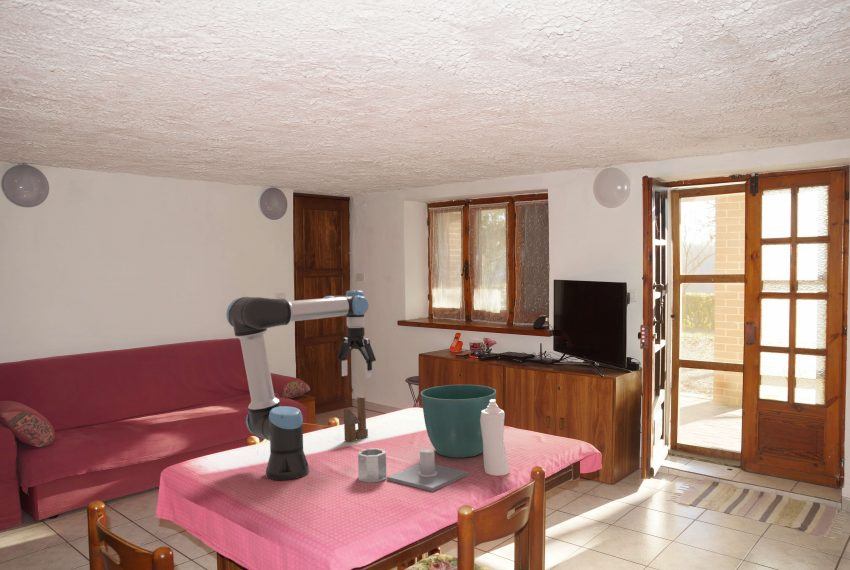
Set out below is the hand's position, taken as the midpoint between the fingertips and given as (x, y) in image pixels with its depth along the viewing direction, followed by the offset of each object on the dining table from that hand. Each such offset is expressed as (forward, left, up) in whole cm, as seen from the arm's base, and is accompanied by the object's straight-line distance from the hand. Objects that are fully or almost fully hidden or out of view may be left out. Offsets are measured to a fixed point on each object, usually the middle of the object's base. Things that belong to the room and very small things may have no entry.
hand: (356, 377), depth 260 cm
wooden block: (+5, +6, -29) cm, 29 cm away
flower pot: (+14, -43, -29) cm, 54 cm away
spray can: (+2, -67, -28) cm, 73 cm away
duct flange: (-18, -52, -28) cm, 62 cm away
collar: (-29, -36, -28) cm, 55 cm away
